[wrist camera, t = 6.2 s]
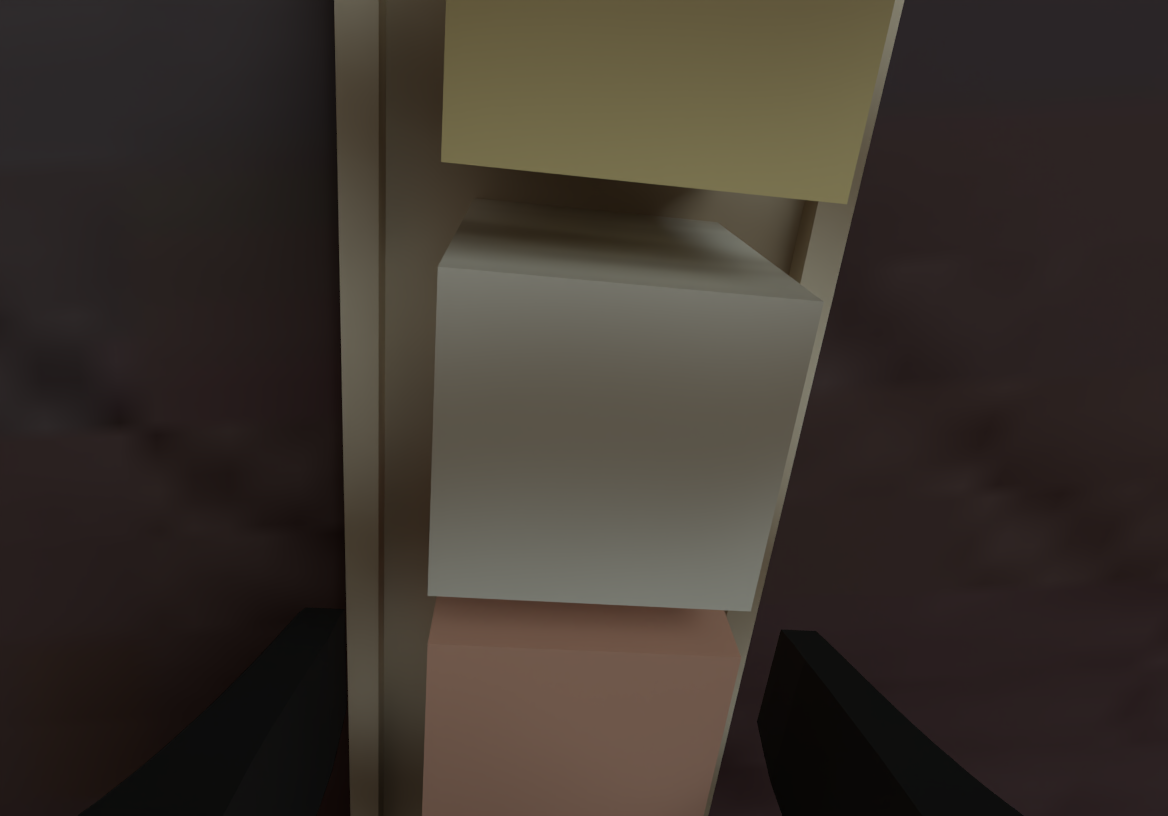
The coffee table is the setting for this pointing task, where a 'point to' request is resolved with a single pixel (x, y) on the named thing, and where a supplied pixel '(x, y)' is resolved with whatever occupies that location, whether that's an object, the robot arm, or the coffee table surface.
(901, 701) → the coffee table surface
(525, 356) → the rack
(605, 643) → the terracotta block
